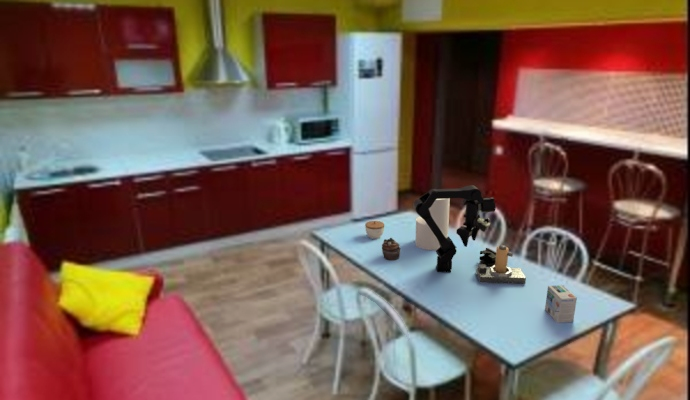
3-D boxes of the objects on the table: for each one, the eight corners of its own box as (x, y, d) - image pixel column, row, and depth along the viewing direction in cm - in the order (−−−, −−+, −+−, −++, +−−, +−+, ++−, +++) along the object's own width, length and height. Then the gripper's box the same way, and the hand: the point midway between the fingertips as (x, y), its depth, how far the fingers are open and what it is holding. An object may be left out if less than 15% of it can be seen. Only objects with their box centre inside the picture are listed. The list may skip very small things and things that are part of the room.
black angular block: (503, 266, 233) (504, 254, 231) (492, 269, 230) (493, 256, 228) (489, 258, 241) (490, 246, 239) (478, 261, 238) (479, 249, 236)
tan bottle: (492, 272, 220) (495, 246, 216) (497, 268, 224) (499, 243, 220) (508, 277, 216) (510, 250, 212) (512, 272, 220) (514, 247, 215)
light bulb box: (544, 308, 195) (547, 285, 192) (560, 307, 196) (563, 284, 193) (557, 323, 185) (560, 298, 182) (574, 322, 186) (577, 297, 182)
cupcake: (391, 263, 239) (392, 244, 236) (377, 257, 246) (378, 239, 243) (404, 257, 245) (405, 239, 242) (390, 251, 252) (391, 234, 248)
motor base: (480, 282, 217) (480, 273, 216) (476, 272, 227) (476, 263, 225) (525, 283, 216) (526, 273, 214) (519, 273, 225) (520, 264, 224)
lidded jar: (384, 240, 266) (384, 224, 263) (365, 240, 266) (365, 224, 264) (383, 233, 276) (383, 217, 274) (365, 233, 277) (364, 218, 274)
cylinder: (452, 241, 263) (454, 193, 254) (440, 252, 249) (442, 202, 240) (423, 235, 272) (424, 188, 263) (410, 246, 258) (411, 196, 249)
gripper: (480, 222, 211) (477, 254, 216) (496, 210, 225) (493, 241, 230) (456, 216, 218) (455, 248, 223) (473, 206, 232) (471, 235, 236)
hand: (469, 243), depth 228 cm, fingers open, 9 cm apart
